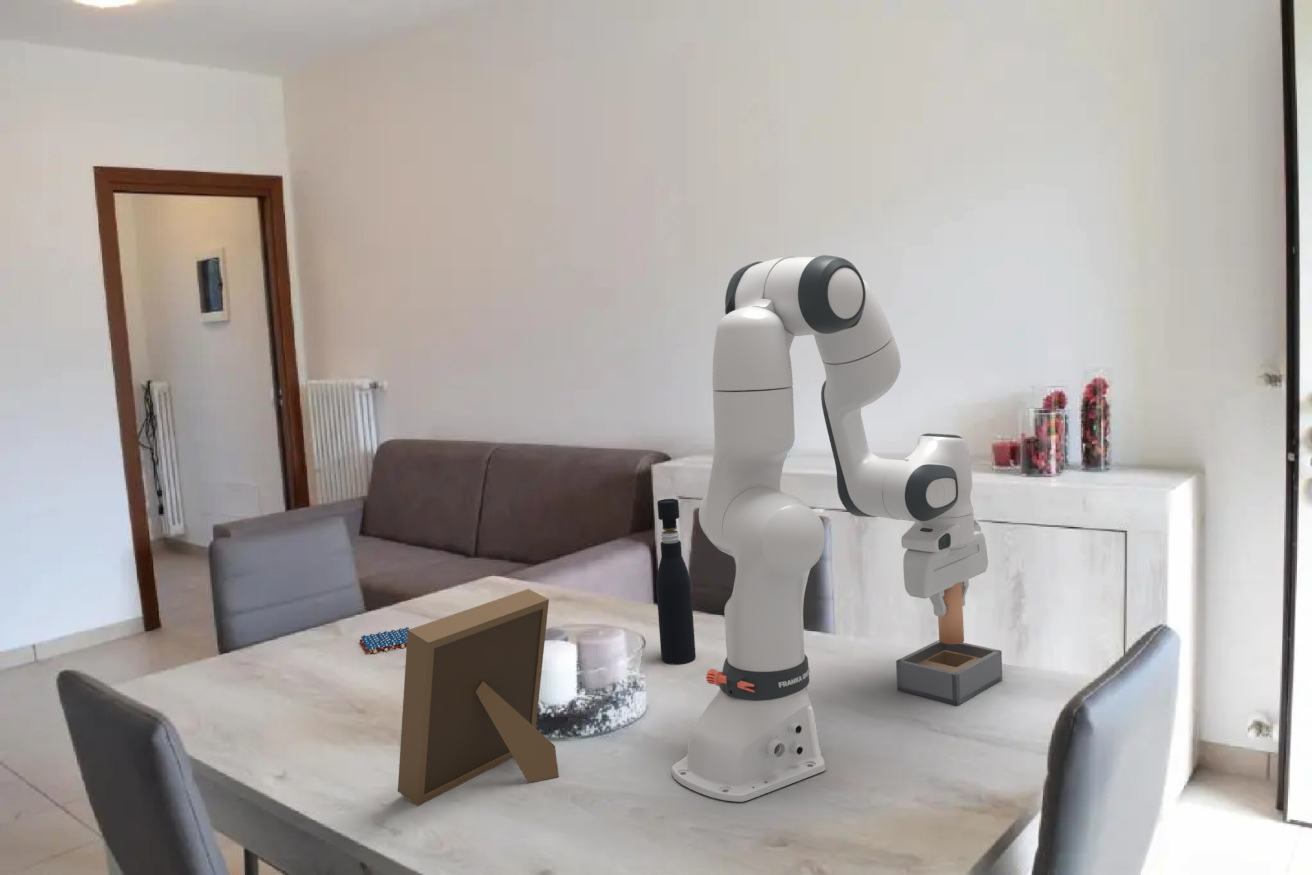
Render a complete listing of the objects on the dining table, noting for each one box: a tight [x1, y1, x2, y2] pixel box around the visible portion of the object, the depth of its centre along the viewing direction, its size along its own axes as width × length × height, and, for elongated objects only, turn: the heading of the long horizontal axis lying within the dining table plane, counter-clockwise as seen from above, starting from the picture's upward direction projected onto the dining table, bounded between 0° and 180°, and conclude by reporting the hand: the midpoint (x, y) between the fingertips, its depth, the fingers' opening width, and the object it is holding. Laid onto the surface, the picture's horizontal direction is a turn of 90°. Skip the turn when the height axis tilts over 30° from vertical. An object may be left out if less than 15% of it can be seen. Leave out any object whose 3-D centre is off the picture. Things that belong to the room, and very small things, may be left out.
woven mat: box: [359, 627, 410, 656], centre depth 208 cm, size 10×11×2 cm
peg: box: [937, 582, 965, 644], centre depth 167 cm, size 4×4×10 cm
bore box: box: [895, 639, 1003, 707], centre depth 165 cm, size 14×11×5 cm
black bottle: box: [655, 498, 697, 665], centre depth 186 cm, size 6×6×30 cm
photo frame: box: [397, 588, 559, 807], centre depth 141 cm, size 15×22×25 cm
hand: (949, 610), depth 167 cm, fingers closed on peg, 4 cm apart
